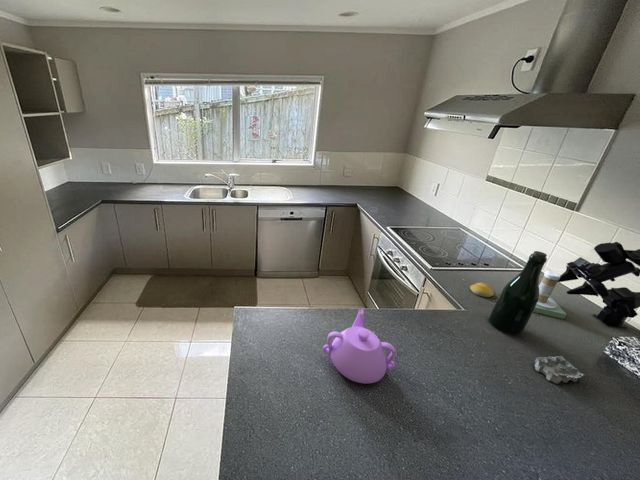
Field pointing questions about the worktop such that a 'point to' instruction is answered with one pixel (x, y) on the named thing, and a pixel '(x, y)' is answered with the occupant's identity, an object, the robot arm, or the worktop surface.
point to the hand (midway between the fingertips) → (560, 286)
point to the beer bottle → (519, 297)
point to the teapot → (359, 353)
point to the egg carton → (557, 369)
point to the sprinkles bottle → (547, 285)
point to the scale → (550, 308)
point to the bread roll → (482, 289)
